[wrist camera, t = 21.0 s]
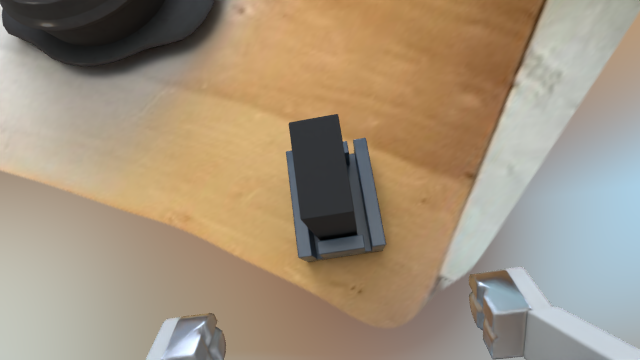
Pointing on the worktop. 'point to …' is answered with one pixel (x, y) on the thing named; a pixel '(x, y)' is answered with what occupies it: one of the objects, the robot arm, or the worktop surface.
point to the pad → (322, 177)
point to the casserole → (101, 26)
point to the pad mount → (364, 209)
